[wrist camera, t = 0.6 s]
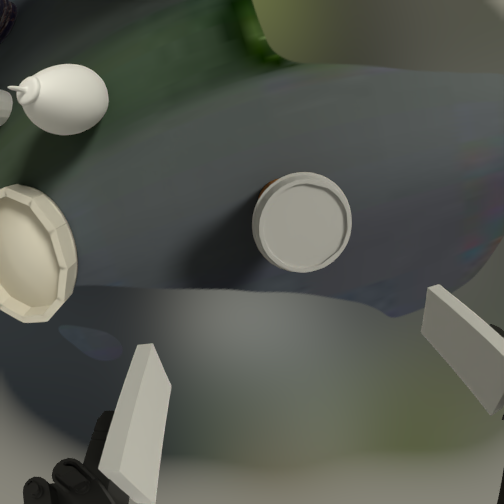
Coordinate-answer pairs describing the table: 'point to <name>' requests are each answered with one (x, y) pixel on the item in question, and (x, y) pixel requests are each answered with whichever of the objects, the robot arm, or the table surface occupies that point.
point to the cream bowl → (34, 255)
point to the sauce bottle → (63, 98)
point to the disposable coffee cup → (301, 222)
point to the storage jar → (6, 18)
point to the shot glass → (5, 106)
